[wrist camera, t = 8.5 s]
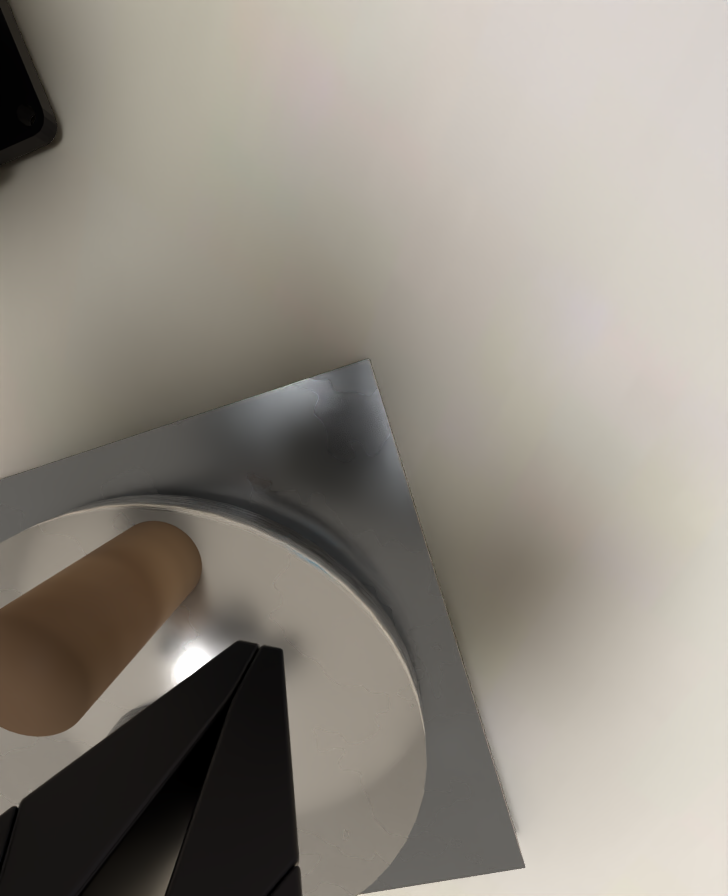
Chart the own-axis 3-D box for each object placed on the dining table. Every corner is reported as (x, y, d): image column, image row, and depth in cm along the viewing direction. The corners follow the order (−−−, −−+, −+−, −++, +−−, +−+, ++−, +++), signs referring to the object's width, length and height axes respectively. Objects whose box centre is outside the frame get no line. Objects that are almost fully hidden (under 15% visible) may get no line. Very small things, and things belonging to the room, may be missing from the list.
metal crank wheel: (-46, 856, 15) (-268, 1108, 10) (-35, 435, 11) (-382, 489, 6) (347, 960, 15) (327, 1267, 10) (488, 572, 11) (574, 742, 6)
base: (-136, 525, 14) (-347, 589, 10) (369, 359, 11) (361, 354, 7) (93, 907, 17) (5, 1068, 13) (516, 834, 15) (563, 1002, 11)
